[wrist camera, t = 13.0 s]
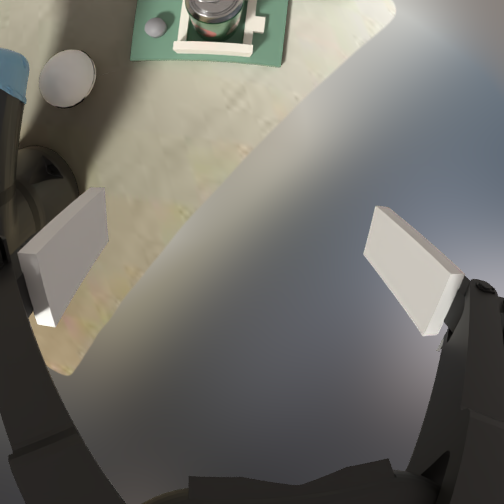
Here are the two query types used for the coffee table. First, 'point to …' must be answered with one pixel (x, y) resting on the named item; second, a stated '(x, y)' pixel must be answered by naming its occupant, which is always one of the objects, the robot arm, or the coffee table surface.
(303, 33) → the coffee table surface
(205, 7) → the soda can
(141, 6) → the board
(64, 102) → the seamed sphere
